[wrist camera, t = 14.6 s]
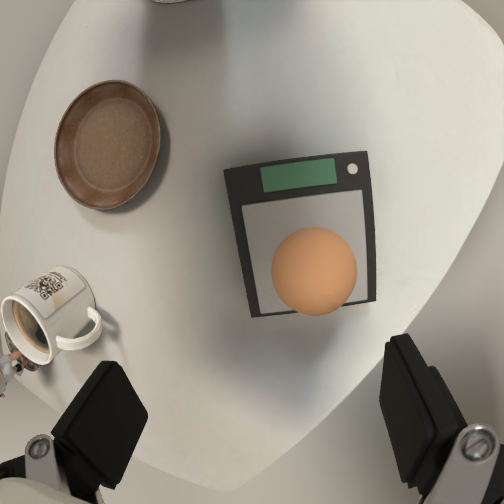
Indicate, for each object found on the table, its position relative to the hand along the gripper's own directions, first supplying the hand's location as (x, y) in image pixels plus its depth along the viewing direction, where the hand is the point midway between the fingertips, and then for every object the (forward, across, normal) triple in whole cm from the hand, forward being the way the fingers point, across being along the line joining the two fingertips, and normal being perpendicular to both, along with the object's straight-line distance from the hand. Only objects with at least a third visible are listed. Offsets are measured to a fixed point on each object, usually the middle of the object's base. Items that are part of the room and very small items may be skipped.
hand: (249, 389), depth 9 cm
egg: (+20, -4, +3) cm, 21 cm away
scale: (+23, -4, +2) cm, 24 cm away
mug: (+23, +30, +6) cm, 38 cm away
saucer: (+24, +16, -13) cm, 31 cm away
